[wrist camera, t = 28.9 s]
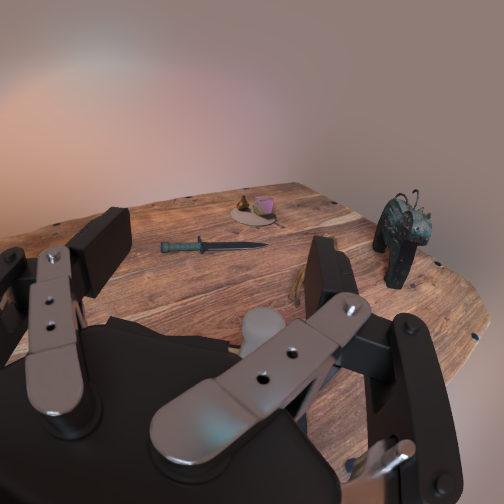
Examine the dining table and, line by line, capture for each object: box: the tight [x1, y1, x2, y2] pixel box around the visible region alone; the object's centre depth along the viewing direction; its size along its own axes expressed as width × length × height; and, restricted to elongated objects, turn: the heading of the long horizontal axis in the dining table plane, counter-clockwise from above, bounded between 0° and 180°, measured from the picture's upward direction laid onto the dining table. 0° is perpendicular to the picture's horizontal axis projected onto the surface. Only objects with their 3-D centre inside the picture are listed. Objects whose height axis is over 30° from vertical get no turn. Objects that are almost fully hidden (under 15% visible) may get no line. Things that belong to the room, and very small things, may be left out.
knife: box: [161, 236, 269, 254], centre depth 64 cm, size 23×2×5 cm
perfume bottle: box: [231, 196, 276, 226], centre depth 78 cm, size 12×12×4 cm
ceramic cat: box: [373, 189, 432, 289], centre depth 60 cm, size 20×6×20 cm, turn 172°
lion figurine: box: [289, 233, 338, 308], centre depth 54 cm, size 15×5×9 cm, turn 153°
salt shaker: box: [237, 307, 286, 358], centre depth 32 cm, size 6×6×13 cm
